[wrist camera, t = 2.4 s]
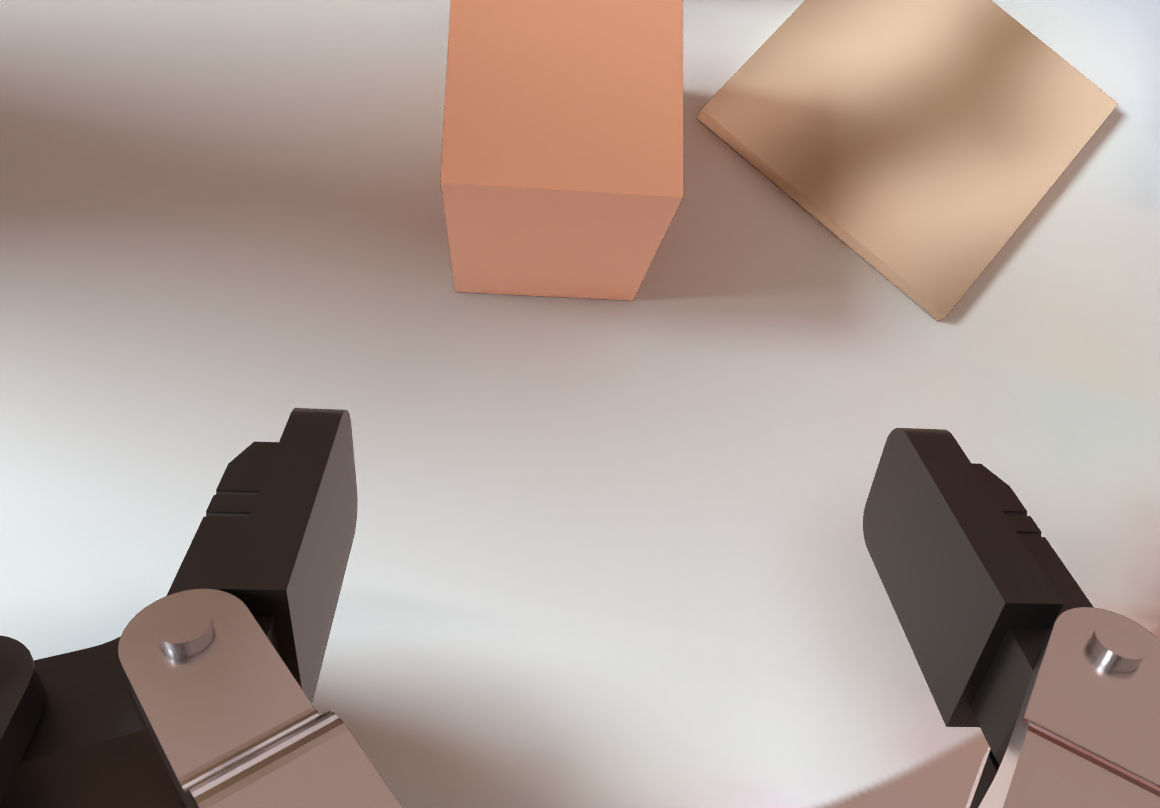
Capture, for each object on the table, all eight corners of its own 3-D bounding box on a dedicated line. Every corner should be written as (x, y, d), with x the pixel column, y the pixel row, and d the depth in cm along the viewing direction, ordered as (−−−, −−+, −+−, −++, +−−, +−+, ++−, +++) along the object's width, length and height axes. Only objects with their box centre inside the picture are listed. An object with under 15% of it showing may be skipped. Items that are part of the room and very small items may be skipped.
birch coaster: (697, 118, 29) (701, 108, 28) (878, -72, 31) (886, -85, 30) (937, 321, 28) (946, 315, 27) (1106, 112, 30) (1118, 103, 30)
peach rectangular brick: (632, 300, 27) (683, 197, 20) (455, 291, 27) (440, 183, 19) (635, 81, 29) (682, -90, 21) (466, 69, 28) (456, -110, 21)
